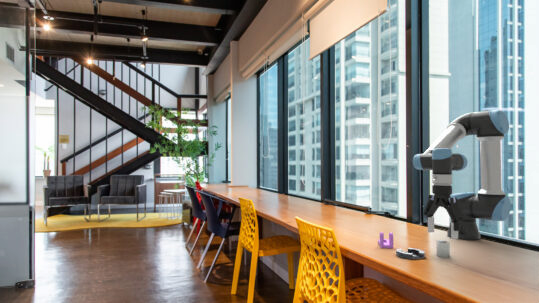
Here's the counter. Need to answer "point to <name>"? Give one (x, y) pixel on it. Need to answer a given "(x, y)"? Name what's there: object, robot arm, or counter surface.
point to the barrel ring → (410, 253)
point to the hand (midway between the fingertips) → (442, 235)
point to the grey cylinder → (443, 248)
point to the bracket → (386, 241)
